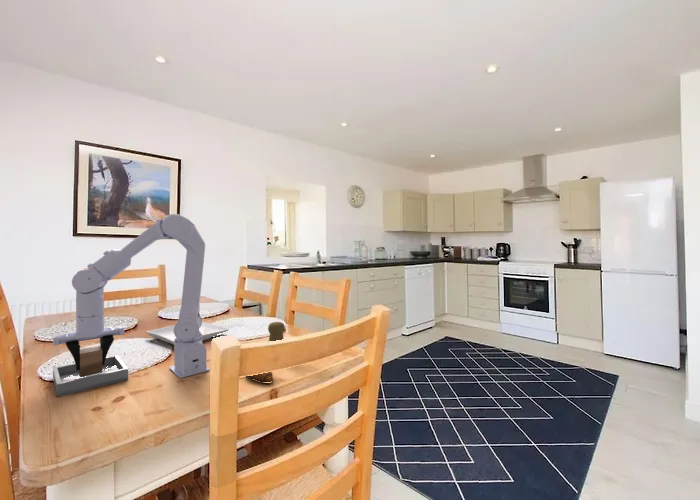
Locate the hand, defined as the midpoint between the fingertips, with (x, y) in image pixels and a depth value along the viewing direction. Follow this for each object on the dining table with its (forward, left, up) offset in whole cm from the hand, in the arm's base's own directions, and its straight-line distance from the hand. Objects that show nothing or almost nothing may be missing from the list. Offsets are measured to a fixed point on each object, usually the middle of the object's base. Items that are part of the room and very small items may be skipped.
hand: (90, 366), depth 86 cm
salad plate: (+22, -32, -4) cm, 39 cm away
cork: (-18, -45, -4) cm, 49 cm away
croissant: (-28, -33, -4) cm, 43 cm away
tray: (0, 0, -3) cm, 3 cm away
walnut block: (0, 0, -2) cm, 2 cm away
